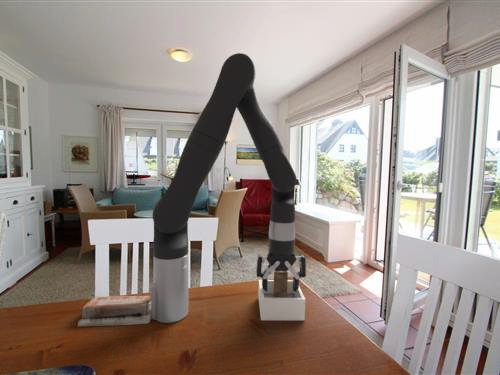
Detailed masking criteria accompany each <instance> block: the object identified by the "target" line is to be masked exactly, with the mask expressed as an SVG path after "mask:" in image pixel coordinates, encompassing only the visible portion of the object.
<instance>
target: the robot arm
mask: <svg viewBox="0 0 500 375" xmlns="http://www.w3.org/2000/svg"><path fill="white" fill-rule="evenodd" d="M255 79H256V66H255V64H254V61H253V59H252V58H251V57H250V56H249V55H248V54H246V53H242V52H239V53H238V52H237V53H234V54H232V55H230V56H228V58H226V59H225V61H224V62H223V63H222V66H221V69H220V72H219V74H218V77H217V81H216V83H215V86H214V89H213V91H212V92H211V95H210V98H209V100H208V101H207V102H206V105H205V106H204V107H203V110H202V111H201V113H200V115H199V116H198V119H197V121H196V123H195V125H194V126H193V128H192V130H191V131H190V134H189V136H188V138H187V140H186V141H185V144H184V147H183V150H182V151H181V155H180V158H179V161H178V164H177V167H176V171H175V173H174V176H173V178H172V180H171V182H170V184H169V185H168V187H167V189H166V190H165V192H164V193H163V195H162V196H161V198H159V200H157V202H155V205H154V207H153V209H152V221H153V246H152V249H153V282H152V283H151V286H150V294H151V295H150V297H151V298H150V302H151V320H155V321H157V322H159V323H165V324H172V323H177V322H179V321H181V320H183V319H184V318H186V316H188V314H189V231H188V230H189V228H188V227H189V223H188V222H189V219H190V217H191V212H192V210H193V208H194V205H195V202H196V199H197V197H198V194H199V192H200V189H201V187H202V185H203V184H204V182H205V181H206V179H207V177H208V176H209V174H210V172H211V171H212V169H213V167H214V164H215V163H216V161H217V159H218V158H219V156H220V153H221V151H222V149H223V147H224V145H225V143H226V141H227V138H228V135H229V132H230V129H231V126H232V122H233V119H234V116H235V113H236V109H237V111H238V112H239V114H240V116H241V118H242V119H243V121H244V122H243V123H244V124H245V126H246V128H247V130H248V133H249V135H250V137H251V140H252V142H253V145H254V147H255V149H256V151H257V154H258V156H259V158H260V159H261V161H262V163H263V164H264V165H263V166H264V168H265V170H266V174H267V176H268V178H269V182H270V184H271V204H270V215H269V216H270V220H269V225H268V227H269V228H268V252H267V255H262V254H261V253H259V254H257V257H256V258H257V260H256V270H255V272H256V277H257V278H261V280H262V288H263V289H264V290H265V291H267V282H268V280H269V279H268V277H269V276H271V274H273V273H274V271H287V272H288V271H290V273H291V275H293V277H292V280H293V291H297V289H298V288H299V287H300V279H301V278H305V277H307V269H306V267H307V266H306V263H307V262H306V257H305V256H304V255H303V254H300V255H295V251H296V250H295V248H296V247H295V246H296V224H295V222H296V221H295V220H296V206H295V205H296V204H295V191H296V189H295V188H296V186H297V175H296V173H295V171H294V169H293V167H292V164H291V163H290V161H289V159H288V157H287V155H286V153H285V150H284V146H283V144H282V142H281V140H280V138H279V134H278V133H277V131H276V129H275V127H274V126H273V123H271V120H270V119H269V118H268V117H267V115H266V114H265V112H264V111H263V109H262V108H261V105H260V103H259V101H258V98H257V95H256V91H255V88H254V84H255ZM266 261H267V262H268V264H267V265H266V268H265V269H264V270H263V271H262V267H263V266H262V265H263V264H264V263H265V262H266ZM296 262H297V263H298V264H299V271H297V270H296V269H295V268H294V266H293V265H294V264H295V263H296Z"/></svg>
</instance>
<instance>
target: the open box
mask: <svg viewBox="0 0 500 375" xmlns="http://www.w3.org/2000/svg"><path fill="white" fill-rule="evenodd" d="M273 293H274V279H268V282H267V291H265V290H264V289H263V288H262V279H258V291H257V294H258V296H257V299H258V308H259V315H260V316H259V317H260V321H305V318H306V297H305V295H304V294H303V292H302V289H301V287H300V286H299V288H298V289H297V291H293V279H288V283H287V298H273Z"/></svg>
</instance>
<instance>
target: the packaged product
mask: <svg viewBox="0 0 500 375" xmlns="http://www.w3.org/2000/svg"><path fill="white" fill-rule="evenodd" d="M81 313H82V314H81V318H80V319H79V320H78V323H77V327H100V326H101V327H102V326H103V327H104V326H130V325H131V326H132V325H146V324H150V322H151V320H152V319H151V295H132V296H131V295H130V296H128V295H127V296H124V295H122V296H121V295H120V296H115V295H114V296H95V297H92V298H91V299H90V300H89V301H88V302H87V303H86V304H85V305H84V306H83V307H82V309H81Z"/></svg>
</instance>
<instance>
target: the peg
mask: <svg viewBox="0 0 500 375" xmlns="http://www.w3.org/2000/svg"><path fill="white" fill-rule="evenodd" d="M288 278H289V272H288V270H287V271H275V270H274V271H273V280H274V293H273V298H287V283H288V280H289V279H288Z"/></svg>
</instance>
